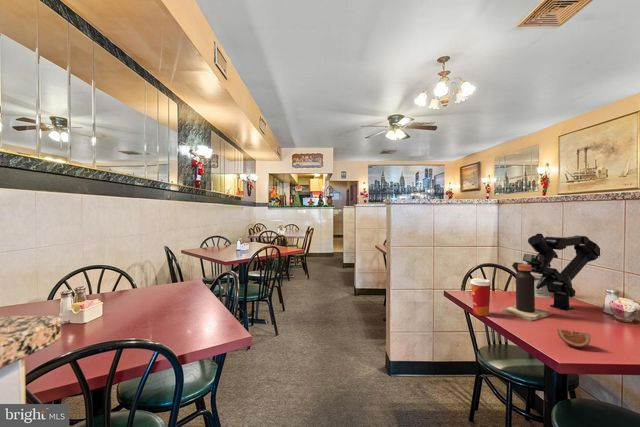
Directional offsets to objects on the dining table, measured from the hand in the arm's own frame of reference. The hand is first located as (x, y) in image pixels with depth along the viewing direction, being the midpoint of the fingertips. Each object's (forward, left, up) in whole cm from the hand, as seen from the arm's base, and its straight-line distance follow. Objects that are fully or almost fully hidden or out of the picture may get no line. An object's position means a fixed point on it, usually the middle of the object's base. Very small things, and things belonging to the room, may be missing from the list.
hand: (526, 285), depth 128 cm
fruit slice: (+19, +25, -12) cm, 34 cm away
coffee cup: (+18, -9, -12) cm, 24 cm away
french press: (-36, -12, -12) cm, 40 cm away
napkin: (+1, 0, -12) cm, 12 cm away
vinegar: (+1, 0, -11) cm, 11 cm away
